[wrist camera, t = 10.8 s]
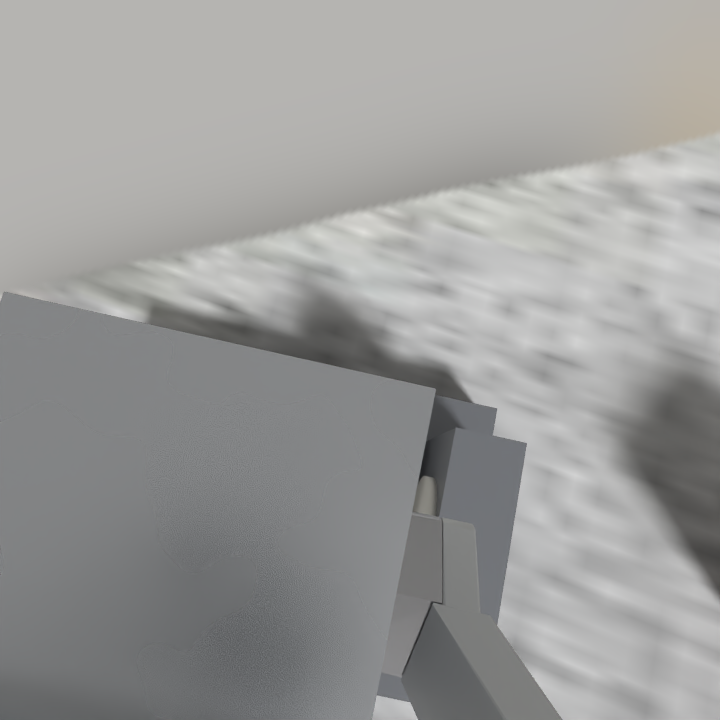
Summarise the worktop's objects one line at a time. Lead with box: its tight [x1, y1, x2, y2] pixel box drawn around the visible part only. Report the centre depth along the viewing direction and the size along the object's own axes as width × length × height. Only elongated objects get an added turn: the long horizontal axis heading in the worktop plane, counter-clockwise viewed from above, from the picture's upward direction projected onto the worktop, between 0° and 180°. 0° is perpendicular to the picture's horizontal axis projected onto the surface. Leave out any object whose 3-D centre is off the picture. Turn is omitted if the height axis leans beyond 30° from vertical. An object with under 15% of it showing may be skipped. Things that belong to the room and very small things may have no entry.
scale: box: [377, 395, 527, 702], centre depth 25 cm, size 14×12×8 cm
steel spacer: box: [0, 292, 436, 720], centre depth 11 cm, size 4×4×9 cm
